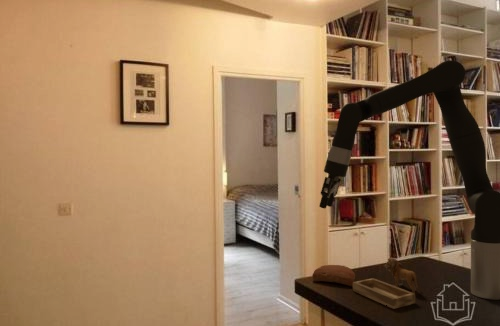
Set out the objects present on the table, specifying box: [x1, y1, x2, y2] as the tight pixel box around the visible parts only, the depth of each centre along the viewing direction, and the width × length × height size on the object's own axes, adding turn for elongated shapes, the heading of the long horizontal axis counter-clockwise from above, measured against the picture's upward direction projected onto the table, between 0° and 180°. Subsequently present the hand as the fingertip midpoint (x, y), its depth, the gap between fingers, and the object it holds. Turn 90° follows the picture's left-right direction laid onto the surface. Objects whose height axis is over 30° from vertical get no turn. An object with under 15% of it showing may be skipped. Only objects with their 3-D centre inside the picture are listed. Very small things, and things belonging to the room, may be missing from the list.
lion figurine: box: [384, 257, 424, 295], centre depth 128 cm, size 15×5×9 cm, turn 27°
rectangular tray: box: [352, 277, 416, 310], centre depth 121 cm, size 9×17×3 cm, turn 27°
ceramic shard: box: [311, 264, 356, 288], centre depth 140 cm, size 15×6×15 cm
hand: (325, 206), depth 133 cm, fingers open, 8 cm apart
